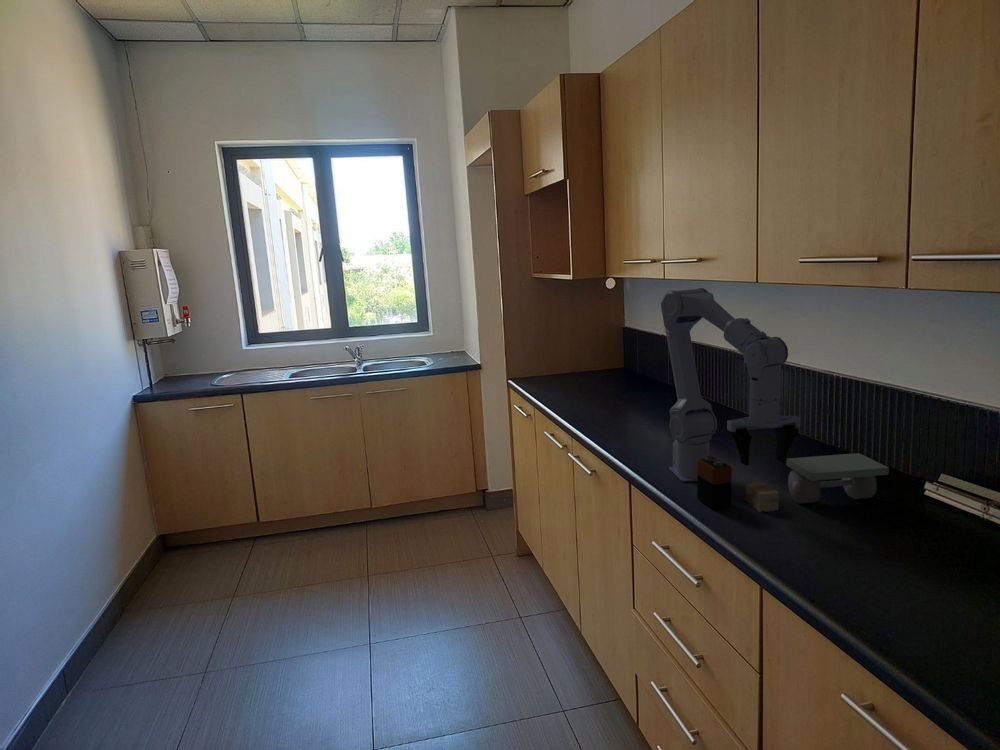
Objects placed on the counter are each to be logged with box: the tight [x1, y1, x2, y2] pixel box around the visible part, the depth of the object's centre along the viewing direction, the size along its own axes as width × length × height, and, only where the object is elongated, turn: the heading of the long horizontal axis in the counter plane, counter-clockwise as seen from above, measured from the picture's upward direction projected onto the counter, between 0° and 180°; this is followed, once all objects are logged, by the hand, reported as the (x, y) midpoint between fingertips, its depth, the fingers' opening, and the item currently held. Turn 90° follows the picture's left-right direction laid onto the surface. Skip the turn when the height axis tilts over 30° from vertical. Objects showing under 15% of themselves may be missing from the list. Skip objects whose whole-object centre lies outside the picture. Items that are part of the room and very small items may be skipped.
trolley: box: [785, 452, 890, 505], centre depth 132 cm, size 10×16×8 cm, turn 95°
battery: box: [696, 454, 733, 510], centre depth 135 cm, size 4×7×10 cm, turn 12°
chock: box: [745, 482, 780, 513], centre depth 133 cm, size 6×4×4 cm, turn 5°
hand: (762, 462), depth 131 cm, fingers open, 7 cm apart
